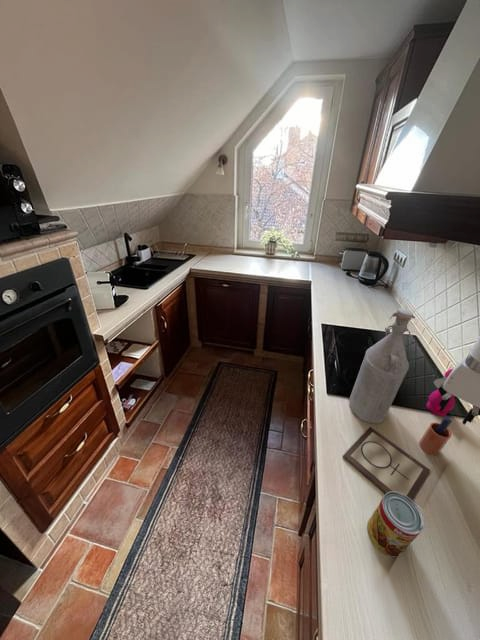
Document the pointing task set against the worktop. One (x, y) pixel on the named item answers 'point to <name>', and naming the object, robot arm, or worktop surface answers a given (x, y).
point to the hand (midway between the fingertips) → (453, 414)
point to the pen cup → (434, 440)
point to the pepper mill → (436, 399)
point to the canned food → (395, 523)
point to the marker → (443, 426)
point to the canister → (382, 372)
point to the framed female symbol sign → (386, 464)
